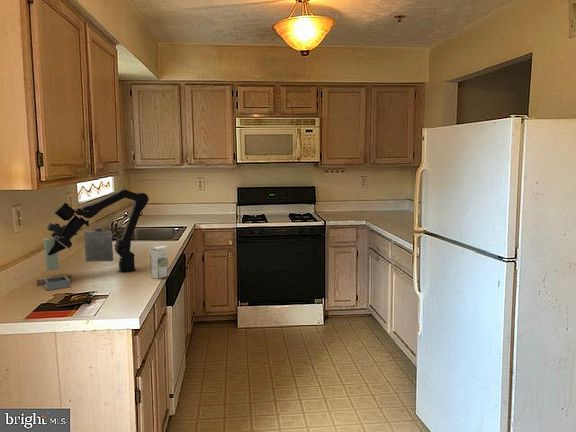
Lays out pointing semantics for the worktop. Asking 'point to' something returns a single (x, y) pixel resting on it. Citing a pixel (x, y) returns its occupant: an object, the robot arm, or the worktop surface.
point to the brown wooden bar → (41, 281)
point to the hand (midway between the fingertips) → (47, 254)
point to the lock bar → (50, 260)
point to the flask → (98, 245)
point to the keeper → (56, 283)
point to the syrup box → (159, 261)
